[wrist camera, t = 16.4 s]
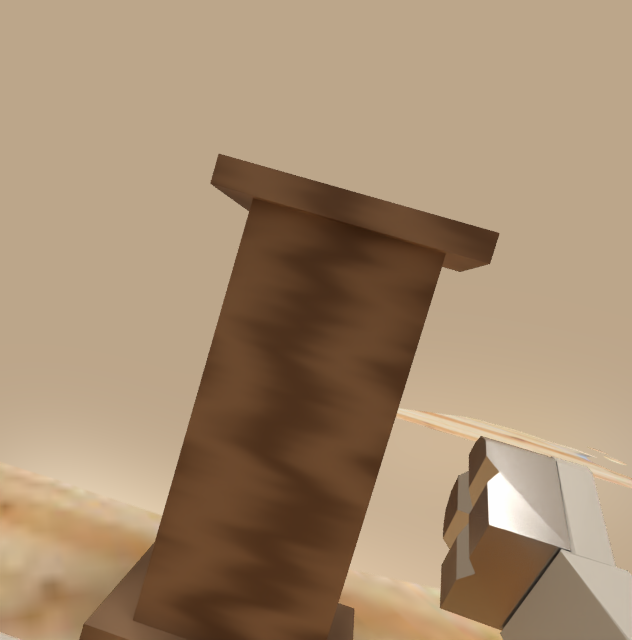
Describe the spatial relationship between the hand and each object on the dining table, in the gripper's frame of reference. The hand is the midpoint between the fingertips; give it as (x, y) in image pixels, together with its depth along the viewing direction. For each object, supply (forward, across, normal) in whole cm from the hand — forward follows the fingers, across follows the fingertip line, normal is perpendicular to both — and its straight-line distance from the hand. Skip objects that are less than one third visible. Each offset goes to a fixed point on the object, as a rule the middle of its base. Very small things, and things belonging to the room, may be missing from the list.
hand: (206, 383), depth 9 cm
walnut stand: (+11, 0, +29) cm, 31 cm away
